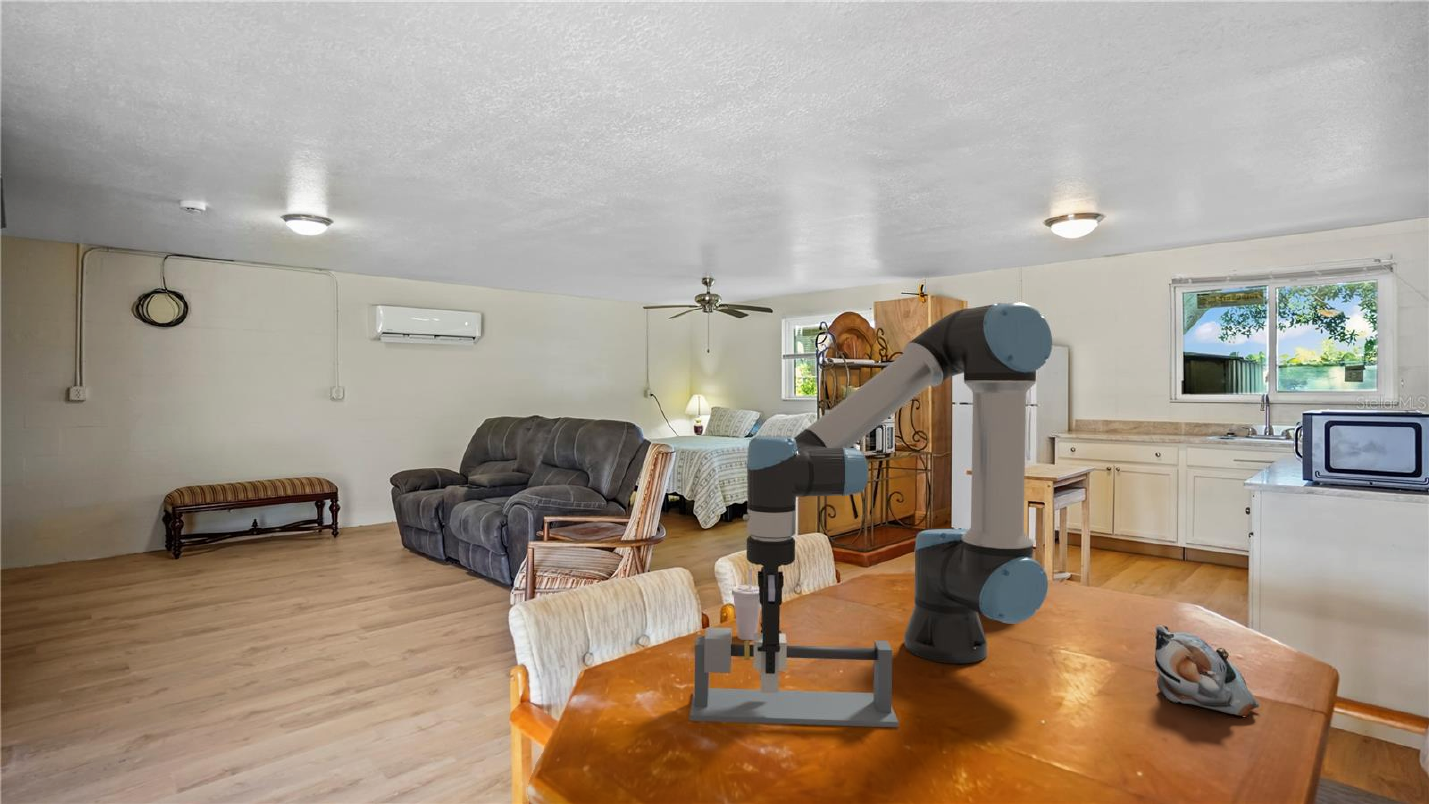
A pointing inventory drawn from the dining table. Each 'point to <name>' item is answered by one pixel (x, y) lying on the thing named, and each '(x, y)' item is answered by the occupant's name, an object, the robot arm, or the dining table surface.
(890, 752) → the dining table surface
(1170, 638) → the gray steam iron
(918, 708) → the dining table surface
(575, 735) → the dining table surface
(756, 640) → the sleeve
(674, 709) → the dining table surface
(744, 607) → the smoothie
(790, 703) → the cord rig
